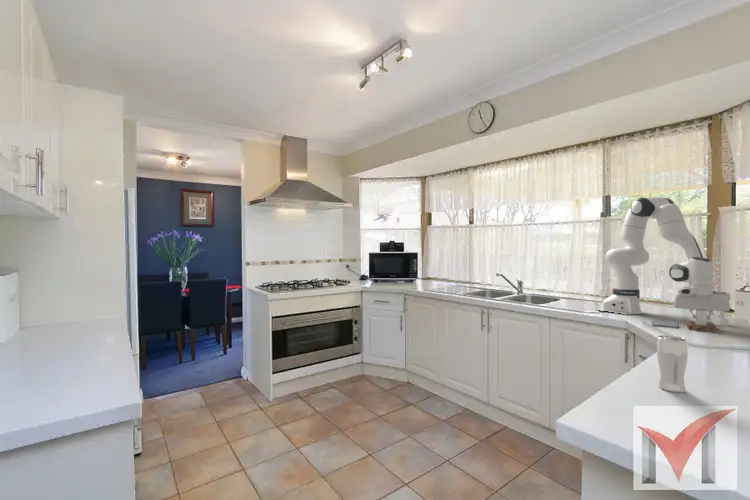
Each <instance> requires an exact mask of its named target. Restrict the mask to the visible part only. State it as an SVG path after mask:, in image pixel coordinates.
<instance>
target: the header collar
mask: <svg viewBox="0 0 750 500" xmlns="http://www.w3.org/2000/svg"><path fill="white" fill-rule="evenodd" d="M685 325H686V327H687V328H688V330H690V331H697V332H698V331H699V332H709V333H710V332H711V333H718V327H717V325H716V324H714V323H712V321H710V322H709V321H707V326H705V325H696V320H688V319H687V320H685Z"/></svg>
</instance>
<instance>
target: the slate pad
mask: <svg viewBox="0 0 750 500" xmlns="http://www.w3.org/2000/svg"><path fill="white" fill-rule="evenodd" d="M651 325H652V327H660V328H661V327H662V328H669V327H671V329H673V328H674V329H679V326H678V323H677V322H676V321H667V320H653V319H652V320H651Z"/></svg>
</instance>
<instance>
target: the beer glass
mask: <svg viewBox="0 0 750 500" xmlns="http://www.w3.org/2000/svg"><path fill="white" fill-rule="evenodd" d="M656 341H657V343H656V357H657V363H658V366H659V367H658V368H659V372H660V377H659V378H660V379H659V383H658V387H659V389H661V390H663V389H664V390H663V391H665V390H667V391H666V392H669V391H670V392H669V393H674V392H675V394H685V393H686V391H687V389H686V386H685V374H686V373H685V372H686V368H687V365H688V355H689V354H688V351H689V350H688V344H687V341H688V340H687V339H686V338H684V337H681V336H675V335H665V334H664V335H662V334H661V335H658V336H657V340H656Z"/></svg>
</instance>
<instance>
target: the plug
mask: <svg viewBox="0 0 750 500" xmlns="http://www.w3.org/2000/svg"><path fill="white" fill-rule="evenodd" d="M707 311H708V310H699V309H695V314H696V318H695V321H696V325H705V326H707V322H708V319H707V315H708V314H707Z"/></svg>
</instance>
